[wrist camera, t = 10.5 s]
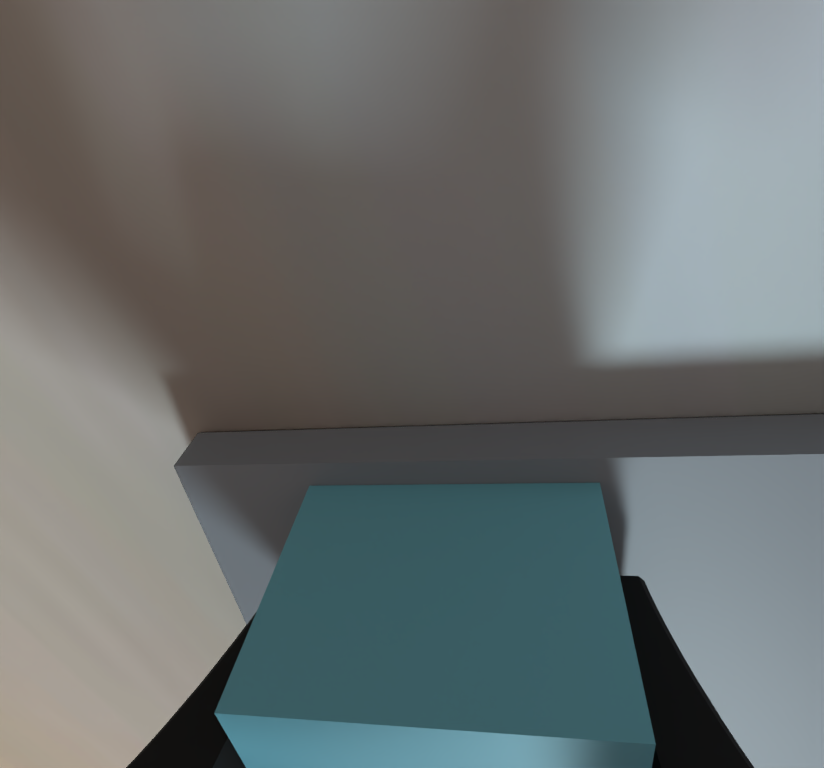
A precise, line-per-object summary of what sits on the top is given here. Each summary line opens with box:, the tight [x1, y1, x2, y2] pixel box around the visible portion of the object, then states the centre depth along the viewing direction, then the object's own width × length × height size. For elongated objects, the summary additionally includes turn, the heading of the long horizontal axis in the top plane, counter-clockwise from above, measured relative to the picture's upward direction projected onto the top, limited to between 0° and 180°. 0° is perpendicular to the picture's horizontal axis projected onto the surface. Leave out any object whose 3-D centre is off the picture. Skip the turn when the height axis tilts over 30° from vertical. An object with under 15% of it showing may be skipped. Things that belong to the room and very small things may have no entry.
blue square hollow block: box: [214, 483, 656, 768], centre depth 9 cm, size 5×5×4 cm
